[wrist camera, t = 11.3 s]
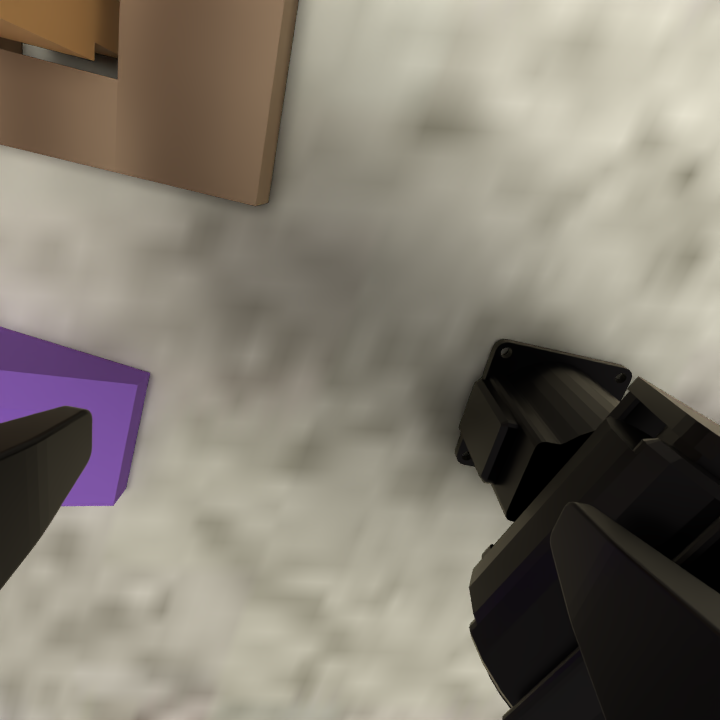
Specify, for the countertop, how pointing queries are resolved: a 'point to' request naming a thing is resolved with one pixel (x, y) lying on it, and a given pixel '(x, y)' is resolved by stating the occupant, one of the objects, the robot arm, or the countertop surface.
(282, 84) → the brown slotted square board
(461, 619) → the countertop surface
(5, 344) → the bracket
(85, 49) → the tan wooden block
